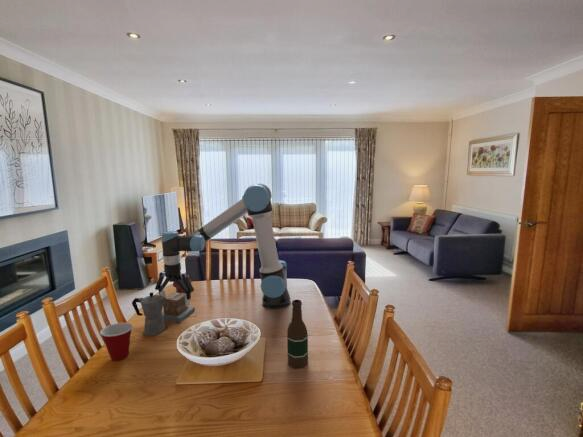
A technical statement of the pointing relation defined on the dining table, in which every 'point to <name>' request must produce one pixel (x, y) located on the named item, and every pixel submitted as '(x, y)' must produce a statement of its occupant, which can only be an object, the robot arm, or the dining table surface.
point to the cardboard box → (175, 304)
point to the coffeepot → (151, 313)
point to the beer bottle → (297, 338)
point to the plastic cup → (117, 340)
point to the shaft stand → (181, 316)
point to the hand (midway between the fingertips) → (175, 304)
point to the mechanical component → (178, 287)
